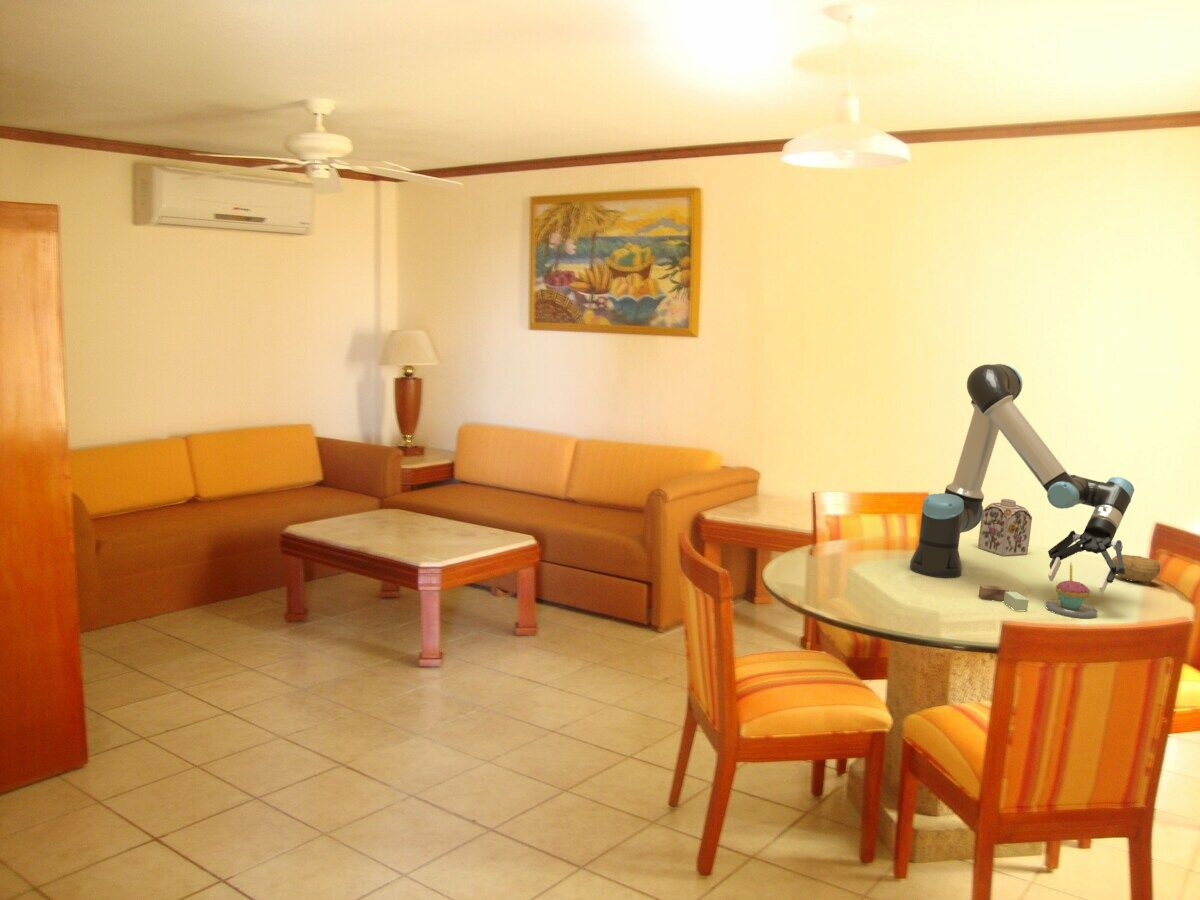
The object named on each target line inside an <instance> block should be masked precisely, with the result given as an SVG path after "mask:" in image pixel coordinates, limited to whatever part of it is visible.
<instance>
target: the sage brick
mask: <svg viewBox="0 0 1200 900" xmlns="http://www.w3.org/2000/svg"><path fill="white" fill-rule="evenodd" d="M1029 601H1030V600H1029V599H1028V598H1027V597H1025V596H1024V595H1022V594H1020V593H1019V592H1017V591H1009V592H1005V595H1004V602H1003V604H1004V603H1005V604H1007V605H1008V606H1010V607H1012V608H1013V609H1014V610H1025V611H1024V612H1026V611H1027V612H1028V607H1029ZM1005 604H1004V605H1005ZM1007 605H1006V606H1007ZM1008 606H1007V607H1008ZM1010 607H1009V608H1010ZM1014 610H1013V611H1014Z"/></svg>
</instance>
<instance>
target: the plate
mask: <svg viewBox="0 0 1200 900" xmlns="http://www.w3.org/2000/svg"><path fill="white" fill-rule="evenodd" d="M1044 604H1045V605H1044V607H1045V606H1046V607H1047V608H1048V609H1049V610H1051V611H1053V612H1055V613H1054V614H1056V613H1058V614H1057V615H1059V614H1061V615H1060V616H1063V615H1064V617H1069V618H1073V619H1074V618H1075V619H1084V620H1085V619H1087V620H1088V619H1095V618H1097V617H1098V613H1099V612H1098V609H1097V608H1095V607H1093V606H1091V605H1088V604H1087V603H1082V604H1081V606H1080V608H1079V609H1070V608H1066V607H1063V606H1061V603H1060V599H1049V600H1046V601H1045V603H1044ZM1049 610H1048V611H1049ZM1051 611H1050V612H1051ZM1053 612H1052V613H1053Z"/></svg>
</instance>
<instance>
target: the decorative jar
mask: <svg viewBox="0 0 1200 900" xmlns="http://www.w3.org/2000/svg"><path fill="white" fill-rule="evenodd" d="M1032 521H1033V517H1032V515H1031V513H1030V512H1029V511H1028V510H1027V508H1026V507H1024V506H1021V505H1019V504H1017V501H1016V500H1014V499H1010V498H1001V499H1000V502H991V503H989V504H988V505H987V506H986V507H985V508H983V517H982V520H981V521H980V527H979V533H978V544H977V549H980V550H982V551H986V552H988V553H991V554H995V555H998V556H1001V557H1012V556H1014V557H1015V556H1027V555H1028V551H1029V544H1030V539H1031V538H1030V537H1031V530H1032Z"/></svg>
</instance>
